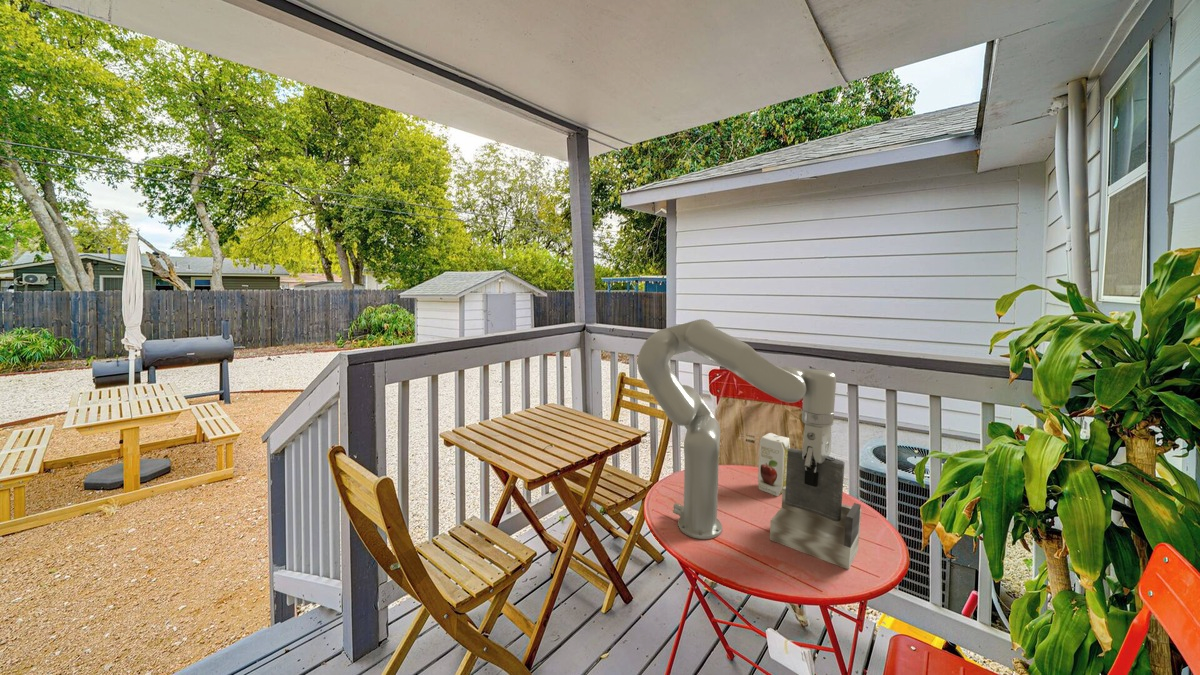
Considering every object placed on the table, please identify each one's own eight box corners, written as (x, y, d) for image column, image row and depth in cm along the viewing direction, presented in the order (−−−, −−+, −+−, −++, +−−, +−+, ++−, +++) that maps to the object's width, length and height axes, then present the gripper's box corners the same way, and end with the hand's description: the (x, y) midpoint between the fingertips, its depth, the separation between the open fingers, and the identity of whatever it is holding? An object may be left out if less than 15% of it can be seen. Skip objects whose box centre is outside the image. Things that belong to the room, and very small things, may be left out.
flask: (788, 499, 131) (791, 439, 129) (842, 516, 122) (847, 452, 119) (783, 504, 129) (786, 442, 126) (838, 522, 119) (843, 456, 116)
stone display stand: (769, 539, 129) (772, 493, 127) (782, 524, 136) (784, 480, 134) (848, 569, 116) (852, 518, 114) (857, 551, 124) (862, 502, 121)
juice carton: (765, 482, 163) (768, 431, 160) (789, 490, 157) (792, 437, 154) (755, 489, 158) (757, 436, 155) (779, 498, 151) (782, 443, 149)
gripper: (823, 428, 113) (819, 498, 115) (841, 411, 125) (836, 475, 128) (792, 422, 117) (788, 489, 120) (812, 406, 130) (808, 468, 133)
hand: (813, 481), depth 124 cm, fingers closed on flask, 3 cm apart
